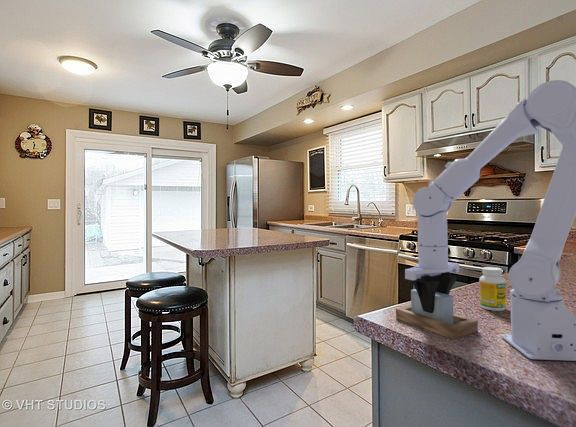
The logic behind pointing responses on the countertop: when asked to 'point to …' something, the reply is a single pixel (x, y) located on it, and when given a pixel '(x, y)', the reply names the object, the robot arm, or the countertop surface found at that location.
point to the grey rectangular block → (435, 307)
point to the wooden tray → (439, 323)
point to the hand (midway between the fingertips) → (433, 310)
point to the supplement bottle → (492, 289)
